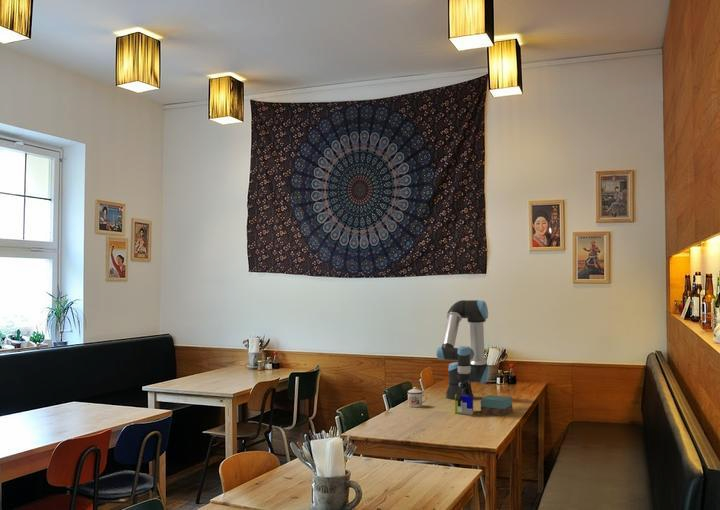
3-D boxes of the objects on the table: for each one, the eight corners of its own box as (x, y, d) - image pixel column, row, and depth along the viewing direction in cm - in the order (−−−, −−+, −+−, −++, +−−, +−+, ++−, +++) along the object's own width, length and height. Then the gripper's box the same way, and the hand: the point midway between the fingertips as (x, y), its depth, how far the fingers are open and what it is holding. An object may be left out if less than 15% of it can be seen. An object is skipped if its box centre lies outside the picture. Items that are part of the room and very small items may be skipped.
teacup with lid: (406, 407, 404) (405, 387, 405) (409, 404, 413) (409, 385, 413) (425, 408, 401) (425, 388, 401) (428, 405, 409) (428, 386, 410)
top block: (480, 406, 385) (480, 398, 386) (489, 402, 397) (489, 395, 397) (504, 408, 378) (504, 401, 378) (512, 404, 390) (512, 397, 390)
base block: (480, 414, 386) (480, 406, 386) (490, 409, 398) (489, 402, 398) (503, 416, 378) (503, 408, 379) (512, 412, 390) (512, 404, 390)
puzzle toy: (472, 414, 382) (472, 397, 382) (455, 413, 384) (455, 396, 385) (473, 411, 392) (473, 394, 392) (456, 410, 394) (456, 393, 394)
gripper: (461, 376, 377) (461, 414, 376) (478, 370, 397) (478, 407, 396) (449, 374, 381) (449, 412, 380) (466, 370, 401) (466, 406, 400)
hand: (464, 410), depth 388 cm, fingers closed on puzzle toy, 12 cm apart
